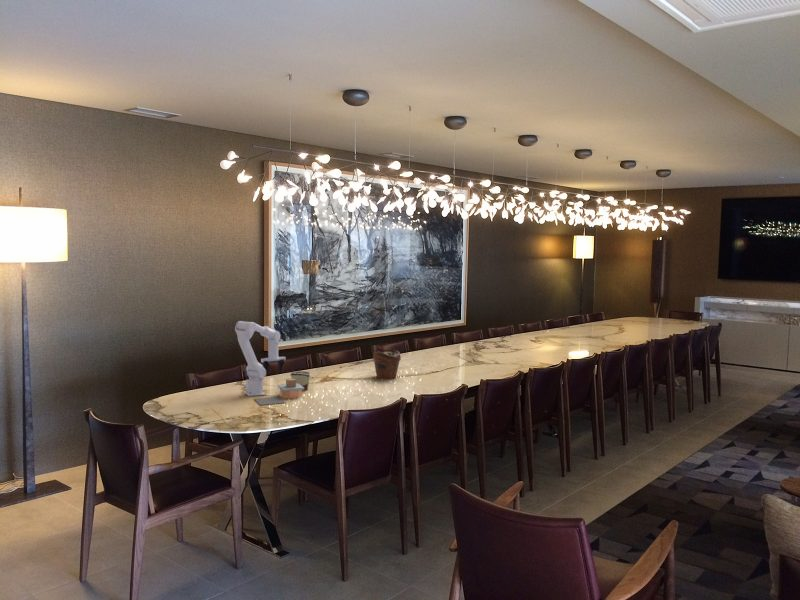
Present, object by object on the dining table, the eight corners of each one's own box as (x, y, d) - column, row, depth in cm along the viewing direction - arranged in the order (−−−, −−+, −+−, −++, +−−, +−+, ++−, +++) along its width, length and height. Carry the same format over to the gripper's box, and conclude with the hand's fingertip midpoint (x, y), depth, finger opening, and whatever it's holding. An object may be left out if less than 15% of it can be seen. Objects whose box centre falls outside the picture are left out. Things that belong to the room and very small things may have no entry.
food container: (313, 388, 385) (313, 371, 384) (309, 390, 379) (309, 373, 378) (294, 386, 388) (294, 370, 387) (290, 388, 382) (290, 372, 381)
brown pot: (402, 374, 430) (402, 347, 428) (399, 380, 410) (399, 352, 409) (375, 373, 432) (375, 347, 430) (371, 380, 412) (371, 352, 410)
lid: (283, 391, 357) (283, 382, 356) (277, 386, 367) (277, 378, 367) (304, 389, 362) (304, 380, 361) (298, 385, 373) (298, 376, 372)
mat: (260, 405, 343) (260, 404, 343) (254, 399, 355) (254, 398, 355) (285, 403, 349) (285, 402, 349) (279, 397, 361) (279, 396, 361)
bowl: (283, 399, 357) (283, 391, 357) (278, 394, 368) (278, 386, 368) (303, 397, 362) (303, 389, 362) (297, 392, 373) (297, 385, 372)
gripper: (263, 352, 372) (263, 375, 373) (287, 350, 379) (287, 373, 381) (259, 350, 378) (259, 373, 379) (283, 348, 385) (283, 371, 387)
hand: (273, 373), depth 380 cm, fingers open, 7 cm apart
